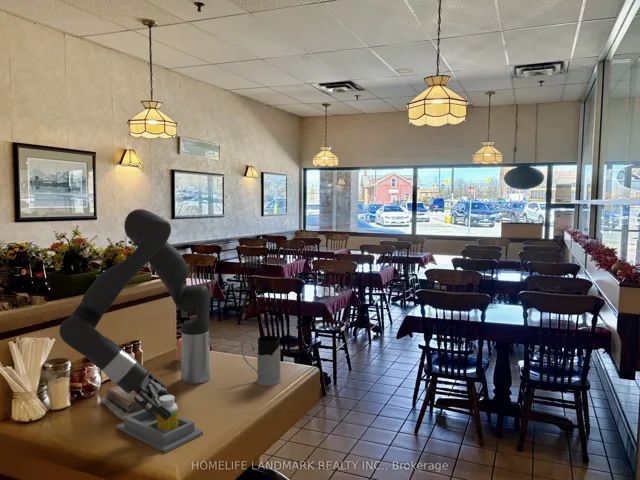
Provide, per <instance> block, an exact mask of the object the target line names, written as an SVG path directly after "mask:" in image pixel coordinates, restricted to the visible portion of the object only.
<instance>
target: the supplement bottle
mask: <svg viewBox="0 0 640 480" xmlns="http://www.w3.org/2000/svg"><path fill="white" fill-rule="evenodd" d="M175 399H176V398H175V396H174V395H173V394H170V395H164V396H161V397H158V401H159V402H160V404H161V405H163V406H164V407H165V408H166V409H168V410H169V411H170V412H171V413H172V414H171V416H170V417H169V418H168V419H167V420H164V419H163V418H162V417H161V416H159V415H158V414H157V430H159V431H161V432H164V433H167V432H169V431H172V430H174V429H176V428H178V416H179V413H178V412H179V411H178V410H179V408H178V404H177V403H176V402H175ZM174 402H175V403H174Z"/></svg>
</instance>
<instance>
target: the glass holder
mask: <svg viewBox="0 0 640 480" xmlns="http://www.w3.org/2000/svg"><path fill="white" fill-rule="evenodd" d="M245 343H249V344H250V345H251V346H252V351H253V353H254V354H255V355H257V369H256V367H255V366H253V365H252V364H251V363H250V362H249V361H248V360H247V358H246V356H245V354H244V344H245ZM241 354H242V357H243V359H244V362H245V363H246V364H247V365H248V366H250V367H251V368H252V369H253V370H254V371H255V372H256V373H257V374H256V375H257V379H256V383H257V384H258V385H260V386H276V385H278V384H280V383H282V381H283V380H282V378H281V345H280V337H279V336H276V335H263V336H259V337H258V338H257V352H256V351H255V346H254V343H253V342H252V341H249V340H246V341H244V342H242V344H241Z"/></svg>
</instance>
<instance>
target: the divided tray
mask: <svg viewBox="0 0 640 480" xmlns="http://www.w3.org/2000/svg"><path fill="white" fill-rule="evenodd" d="M116 429H117V430H119V431H121V432H123V433H125V434H127V435H129V436H131V437H133V438H135V439H138V440H139V441H141V442H143V443H145V444H147V445H149V446H151V447H152V448H154V449H157V450H159V451H161V452H162V453H164V454H166V453H168V452H171V451H172V450H174V449H177V448H178V447H180V446H182V445H185V444H186V443H188V442H191V441H192V440H194V439H196V438H199V437H200V436H203V434H204V430H203V431H202V430H201V429H199V428H196V427H195V422H194V421H191V420H189V419H186V418H184V417H182V416H179V415H178V428H176V429H174V430H172V431H169V432H167V433H164V432H161V431H159V430H157V413H156V412H152V413H151V414H150V413H148V412H147V411H146V410H142V411H140V412H137V413H135V414H132V415H130V416H127V417H125V418H124V421H123V422H122V423H119V424H117V425H116Z"/></svg>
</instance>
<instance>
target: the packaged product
mask: <svg viewBox="0 0 640 480" xmlns="http://www.w3.org/2000/svg"><path fill="white" fill-rule="evenodd" d="M136 395H137V394H136V392H135V391H132V392H131V393H126V392H125V391H124V390H123V389H121V388H120V387H119V386H118V385H116V386H112V387H109V388H107V389H106V397H102V398H100V401H101V403H102V404H103V405H104V404H105V405H106V406H107V407H108V408H109V411H111V413H113V414H114V415H115V416H116V417H118V418H119V419H120V420H121V421H123V422H124V418H125V417H127V416H130V415H132V414H135V413H137V412H140V411H142V410H145V409H144V408H143V407H142V406H140V405H139V404H138V403H137V402H136V401H135V400H134V397H135V396H136ZM105 405H104V406H105ZM106 406H105V407H106ZM107 407H106V408H107ZM148 407H149V406H148ZM108 408H107V409H108Z"/></svg>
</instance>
